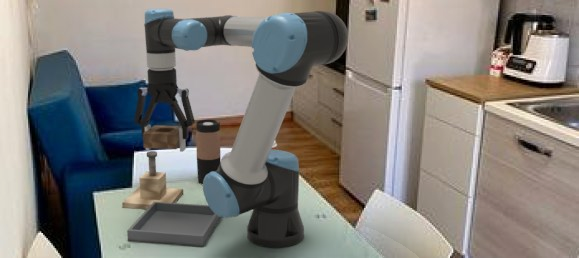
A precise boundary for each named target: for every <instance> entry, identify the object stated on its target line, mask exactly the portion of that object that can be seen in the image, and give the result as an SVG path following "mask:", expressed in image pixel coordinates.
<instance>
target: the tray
mask: <svg viewBox="0 0 579 258" xmlns="http://www.w3.org/2000/svg"><path fill="white" fill-rule="evenodd" d="M221 219H222V217H219V216H218V215H216V214H215V213H214V212H213V211H212V210H211V208H210V207H209V205H208V204H206V205H205V204H193V203H181V202H179V203H177V202H176V203H167V202H153V203H152V204H151V205H150V206H149V207H148V209H145V210H144V212H142V214H140V216H139V217H138V218H137V219H136V220H135V221H134V222H133V223H132V225H131V226H129V228H128V229H127V231H126V232H127V233H126V234H127V242H135V243H148V244H159V245H161V244H162V245H171V246H173V245H174V246H183V247H185V246H187V247H196V248H197V247H199V248H204V246H205V245H206V243H207V241H208V240H209V238H210V237H211V236H212V233H213V232H214V230H215V229H216V227H217V225H218V224H219V222H220V220H221Z"/></svg>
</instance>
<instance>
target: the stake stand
mask: <svg viewBox="0 0 579 258" xmlns="http://www.w3.org/2000/svg"><path fill="white" fill-rule="evenodd" d="M146 157H147V158H148V171H145V172H144V173H143V174H142V175H141V176H140V177H139V178H138V179H139V186H138V187H137V188H136V189H135V190H134V191H133V192H132V193H131V194H130V195H128V197H127V198H125V199H124V200H123V202H122V204H121V205H122V208H125V209H141V210H147V209H148V207H149V206H150V205H151V204H152V203H153V202H167V203H177V202H178V201H179V200H180V198H181V197H182V196H183V195H184V189H183V188H173V187H172V188H171V187H167V172H164V171H163V172H162V171H157V162H156V158H157V157H158V152H157V151H154V150H152V151H147V152H146ZM181 195H182V196H181ZM177 200H178V201H177Z"/></svg>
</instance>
